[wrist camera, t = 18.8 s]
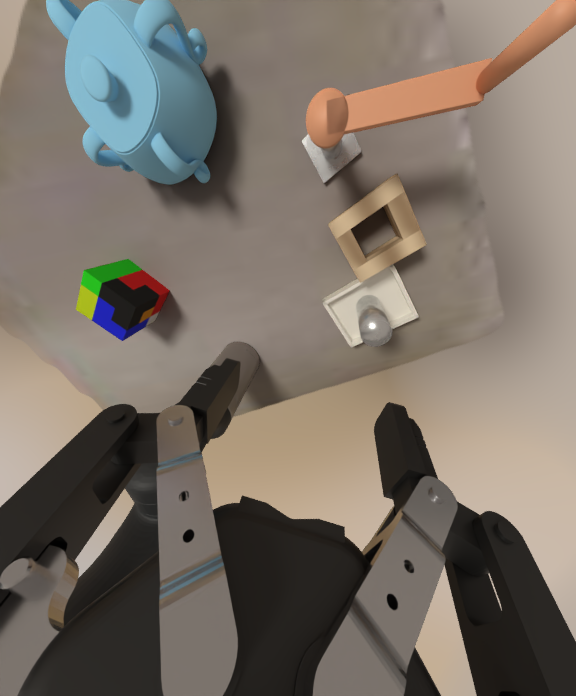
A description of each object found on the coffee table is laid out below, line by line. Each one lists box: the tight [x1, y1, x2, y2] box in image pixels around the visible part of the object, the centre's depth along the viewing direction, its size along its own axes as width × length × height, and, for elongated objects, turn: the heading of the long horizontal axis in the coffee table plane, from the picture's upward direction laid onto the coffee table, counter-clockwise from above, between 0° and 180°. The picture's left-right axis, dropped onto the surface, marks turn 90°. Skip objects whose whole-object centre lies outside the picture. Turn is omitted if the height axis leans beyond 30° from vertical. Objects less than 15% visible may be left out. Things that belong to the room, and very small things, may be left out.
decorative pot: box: [46, 0, 217, 185], centre depth 29 cm, size 16×16×14 cm
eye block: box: [328, 174, 427, 283], centre depth 35 cm, size 10×10×5 cm
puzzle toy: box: [76, 259, 170, 341], centre depth 47 cm, size 10×10×10 cm
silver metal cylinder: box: [356, 295, 392, 347], centre depth 38 cm, size 4×4×11 cm
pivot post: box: [302, 133, 362, 183], centre depth 28 cm, size 6×6×11 cm
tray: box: [323, 264, 419, 347], centre depth 42 cm, size 13×11×2 cm
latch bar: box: [306, 0, 576, 149], centre depth 18 cm, size 4×16×9 cm, turn 98°
